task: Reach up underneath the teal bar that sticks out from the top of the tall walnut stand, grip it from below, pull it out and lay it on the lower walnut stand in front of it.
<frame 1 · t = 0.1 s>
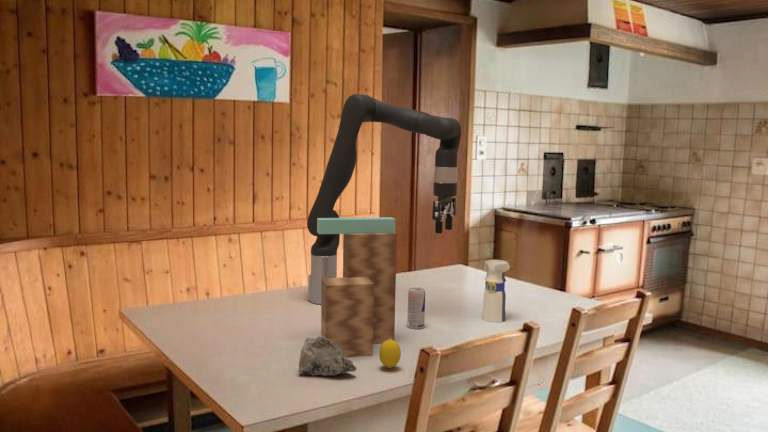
hand: (443, 231, 211), 29 cm above the table, tool pointing down, fingers open, 8 cm apart
lemon: (389, 369, 170), on the table
teal bar: (356, 232, 188), point 32 cm above the table, touching tall stand
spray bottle: (494, 319, 217), on the table
energy drink: (415, 327, 207), on the table
tall stand: (367, 339, 193), on the table
low stand: (346, 351, 183), on the table
mineral rock: (325, 376, 165), on the table
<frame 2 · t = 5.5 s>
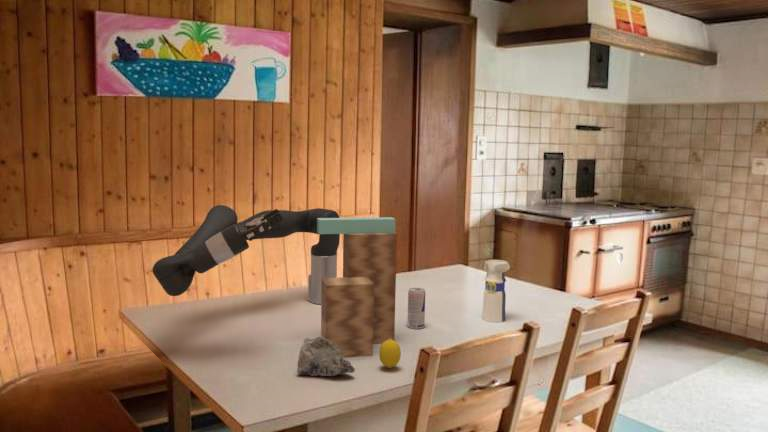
hand: (280, 213, 178), 38 cm above the table, tool pointing upward, fingers open, 8 cm apart
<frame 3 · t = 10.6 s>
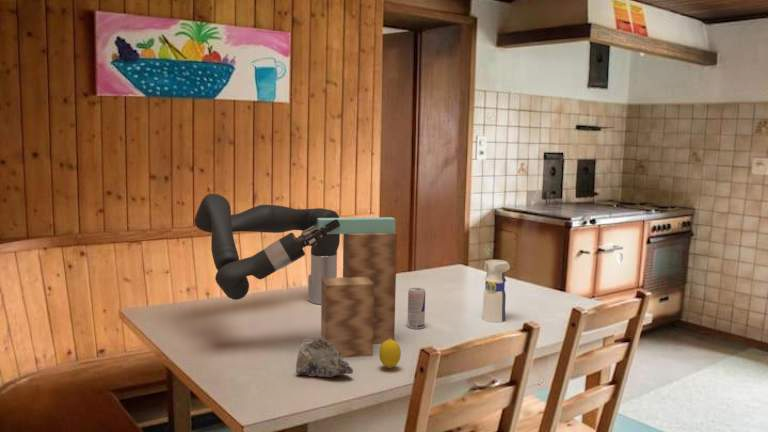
hand: (336, 221, 186), 35 cm above the table, tool pointing upward, fingers closed on teal bar, 4 cm apart
teal bar: (356, 232, 188), point 32 cm above the table, touching gripper, tall stand
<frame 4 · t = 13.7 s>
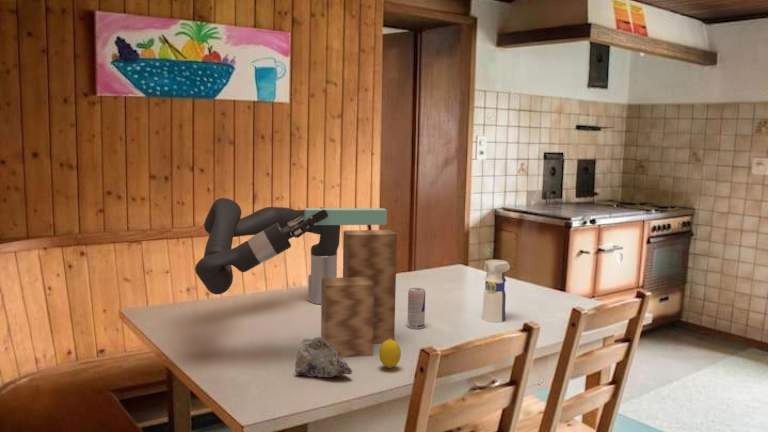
hand: (325, 211, 177), 39 cm above the table, tool pointing upward, fingers closed on teal bar, 4 cm apart
teal bar: (345, 223, 178), point 36 cm above the table, touching gripper
when the fingers open (25 cm above the table, at t = 16.9 s): teal bar drops 2 cm, resting on low stand.
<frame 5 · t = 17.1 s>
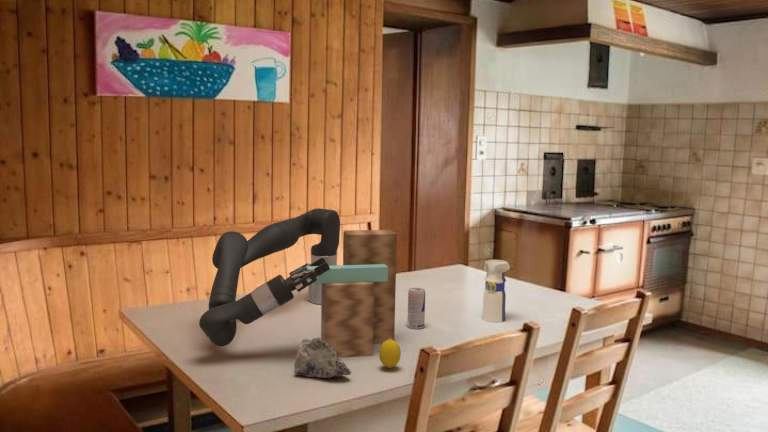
hand: (326, 262, 178), 25 cm above the table, tool pointing upward, fingers open, 6 cm apart
teal bar: (347, 281, 180), point 20 cm above the table, touching low stand
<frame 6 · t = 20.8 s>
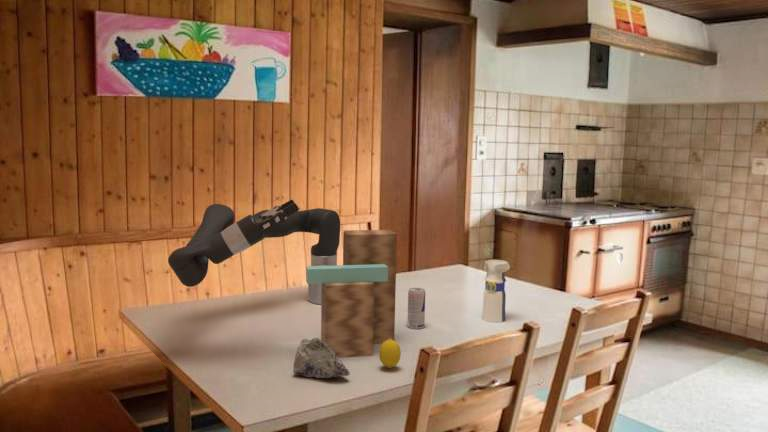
hand: (295, 204, 177), 41 cm above the table, tool pointing upward, fingers open, 8 cm apart
at the end: teal bar inside the target area on the low stand (0.1 cm from its centre), point 20.0 cm above the low stand's base; the gripper is holding nothing; teal bar touching low stand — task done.
